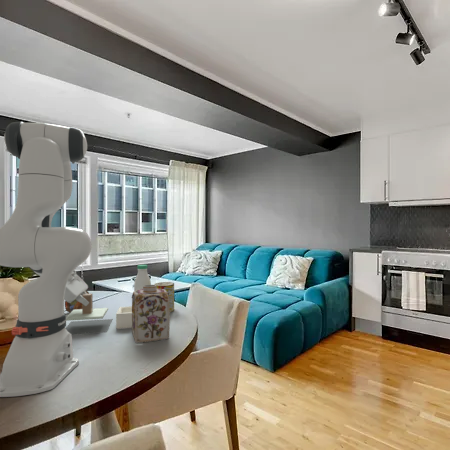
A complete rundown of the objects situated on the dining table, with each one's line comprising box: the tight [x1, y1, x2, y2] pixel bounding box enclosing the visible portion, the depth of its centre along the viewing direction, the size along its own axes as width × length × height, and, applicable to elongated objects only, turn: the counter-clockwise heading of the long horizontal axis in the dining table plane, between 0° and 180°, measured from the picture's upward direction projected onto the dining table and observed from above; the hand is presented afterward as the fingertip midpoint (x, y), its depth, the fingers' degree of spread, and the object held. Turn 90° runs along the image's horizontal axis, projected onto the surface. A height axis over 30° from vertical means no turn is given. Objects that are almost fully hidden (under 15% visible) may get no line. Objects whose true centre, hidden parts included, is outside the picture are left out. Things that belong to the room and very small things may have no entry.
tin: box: [64, 289, 90, 314], centre depth 147 cm, size 15×3×8 cm, turn 168°
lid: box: [66, 293, 109, 322], centre depth 122 cm, size 13×13×8 cm
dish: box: [115, 305, 132, 330], centre depth 125 cm, size 10×10×6 cm
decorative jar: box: [131, 284, 171, 344], centre depth 113 cm, size 12×12×18 cm
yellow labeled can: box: [153, 281, 175, 313], centre depth 147 cm, size 9×9×12 cm
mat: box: [65, 318, 113, 336], centre depth 122 cm, size 16×16×1 cm
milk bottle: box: [133, 264, 152, 292], centre depth 151 cm, size 8×8×20 cm
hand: (89, 303), depth 122 cm, fingers closed on lid, 3 cm apart
